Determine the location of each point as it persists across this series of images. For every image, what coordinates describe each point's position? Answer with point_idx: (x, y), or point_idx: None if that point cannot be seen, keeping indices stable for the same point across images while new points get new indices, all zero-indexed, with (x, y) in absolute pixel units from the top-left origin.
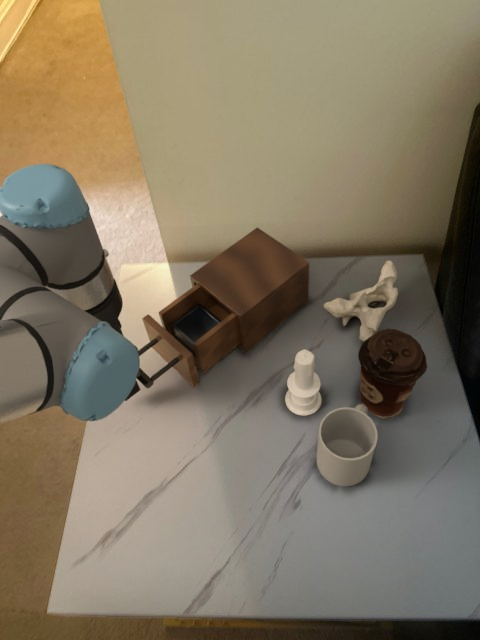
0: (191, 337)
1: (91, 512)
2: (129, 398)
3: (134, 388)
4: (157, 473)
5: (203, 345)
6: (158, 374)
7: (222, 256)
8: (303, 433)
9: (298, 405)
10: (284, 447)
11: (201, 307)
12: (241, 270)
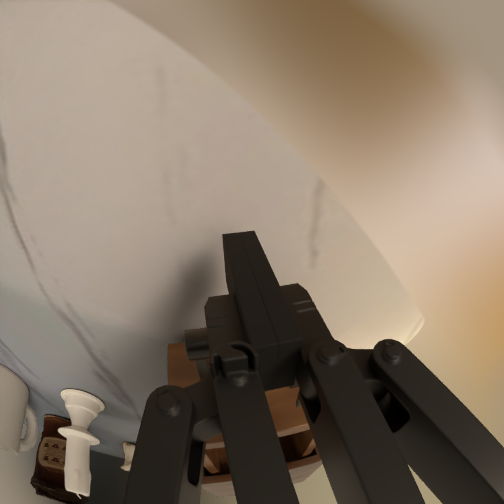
0: None
1: (43, 18)
2: (223, 246)
3: (228, 285)
4: (29, 189)
5: None
6: (199, 372)
7: (309, 472)
8: (40, 379)
9: (68, 403)
10: (26, 359)
11: None
12: None
